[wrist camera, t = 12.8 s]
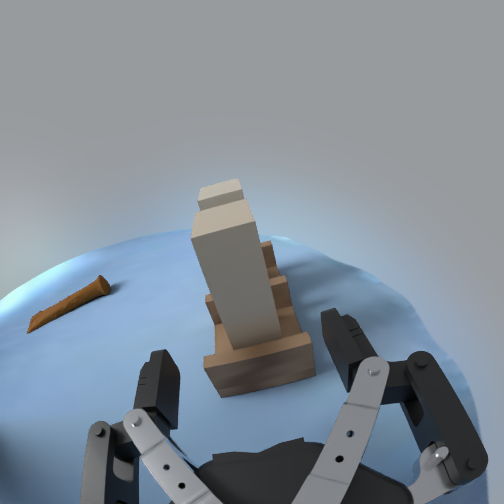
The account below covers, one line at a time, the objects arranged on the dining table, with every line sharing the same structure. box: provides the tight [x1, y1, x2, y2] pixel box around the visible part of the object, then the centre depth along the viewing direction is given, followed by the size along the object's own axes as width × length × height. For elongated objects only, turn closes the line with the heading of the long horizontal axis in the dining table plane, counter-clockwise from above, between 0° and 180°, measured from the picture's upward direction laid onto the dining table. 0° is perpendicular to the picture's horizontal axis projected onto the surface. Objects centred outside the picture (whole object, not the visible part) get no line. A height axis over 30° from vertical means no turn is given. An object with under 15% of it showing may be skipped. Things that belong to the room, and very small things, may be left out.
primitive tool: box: [27, 275, 110, 333], centre depth 39 cm, size 19×6×4 cm, turn 117°
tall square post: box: [198, 178, 244, 211], centre depth 29 cm, size 4×5×12 cm
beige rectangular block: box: [191, 199, 283, 350], centre depth 22 cm, size 4×5×12 cm
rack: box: [204, 241, 316, 398], centre depth 28 cm, size 8×18×4 cm, turn 7°
